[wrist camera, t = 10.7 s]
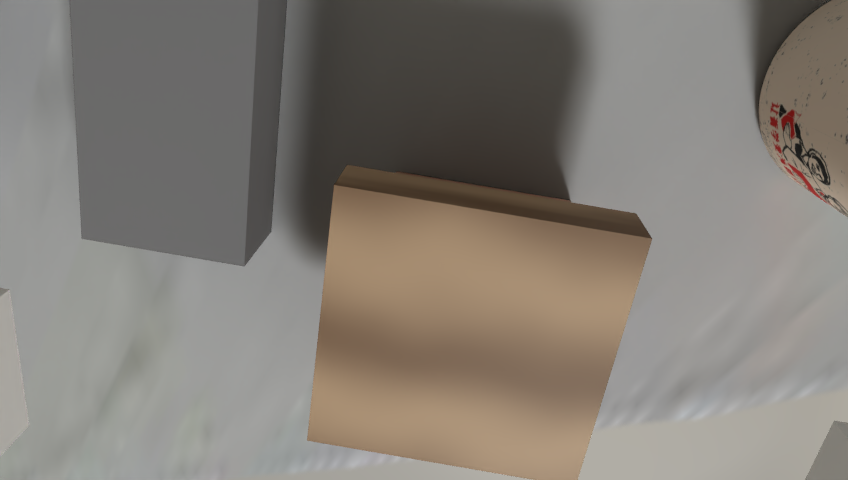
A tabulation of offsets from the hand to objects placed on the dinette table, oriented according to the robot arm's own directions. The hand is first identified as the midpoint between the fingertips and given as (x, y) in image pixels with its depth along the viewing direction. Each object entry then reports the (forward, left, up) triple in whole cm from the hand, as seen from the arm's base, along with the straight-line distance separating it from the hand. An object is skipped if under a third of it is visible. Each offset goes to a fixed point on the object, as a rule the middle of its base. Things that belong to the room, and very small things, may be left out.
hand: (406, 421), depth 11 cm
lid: (+6, +2, -15) cm, 17 cm away
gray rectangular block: (0, -11, -20) cm, 23 cm away
